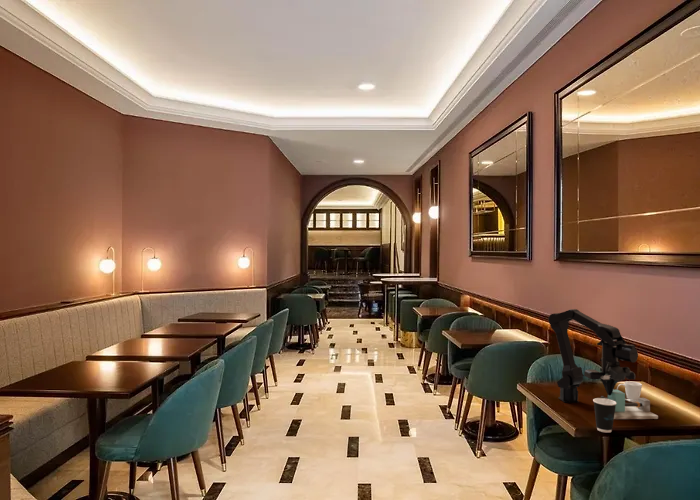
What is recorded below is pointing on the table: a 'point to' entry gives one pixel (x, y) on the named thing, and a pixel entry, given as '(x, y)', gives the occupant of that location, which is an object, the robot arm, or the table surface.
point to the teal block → (618, 400)
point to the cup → (632, 390)
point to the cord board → (636, 410)
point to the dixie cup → (604, 414)
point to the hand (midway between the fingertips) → (609, 395)
